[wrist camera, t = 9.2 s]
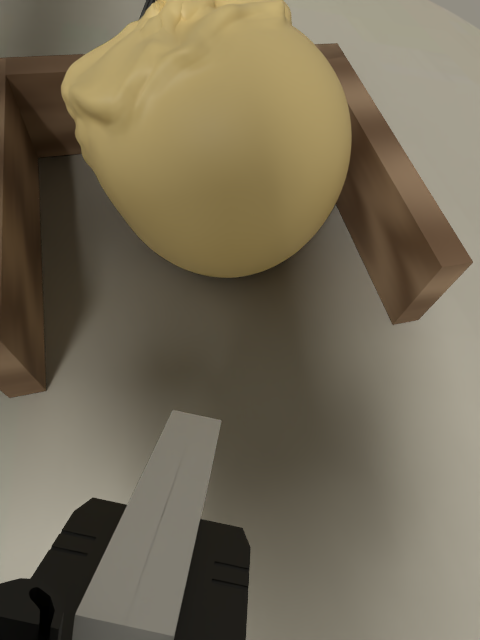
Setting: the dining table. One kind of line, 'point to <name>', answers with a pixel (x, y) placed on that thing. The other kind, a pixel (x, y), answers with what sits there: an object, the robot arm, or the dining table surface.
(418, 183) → the bay
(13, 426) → the dining table surface
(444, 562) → the dining table surface
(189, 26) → the sculpture
